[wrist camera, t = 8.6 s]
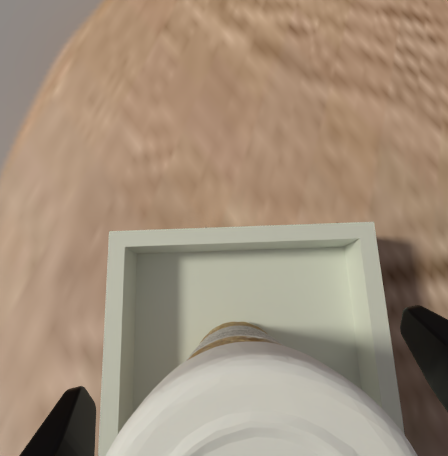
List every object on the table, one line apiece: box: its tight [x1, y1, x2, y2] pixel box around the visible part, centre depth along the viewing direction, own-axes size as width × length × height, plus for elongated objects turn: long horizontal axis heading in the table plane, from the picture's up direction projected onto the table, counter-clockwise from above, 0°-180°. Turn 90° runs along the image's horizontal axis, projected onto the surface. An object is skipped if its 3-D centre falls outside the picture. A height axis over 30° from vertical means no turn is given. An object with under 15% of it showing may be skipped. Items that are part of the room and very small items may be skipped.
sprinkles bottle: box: [106, 322, 418, 456], centre depth 10 cm, size 5×5×13 cm
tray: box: [98, 222, 405, 456], centre depth 16 cm, size 13×13×3 cm
